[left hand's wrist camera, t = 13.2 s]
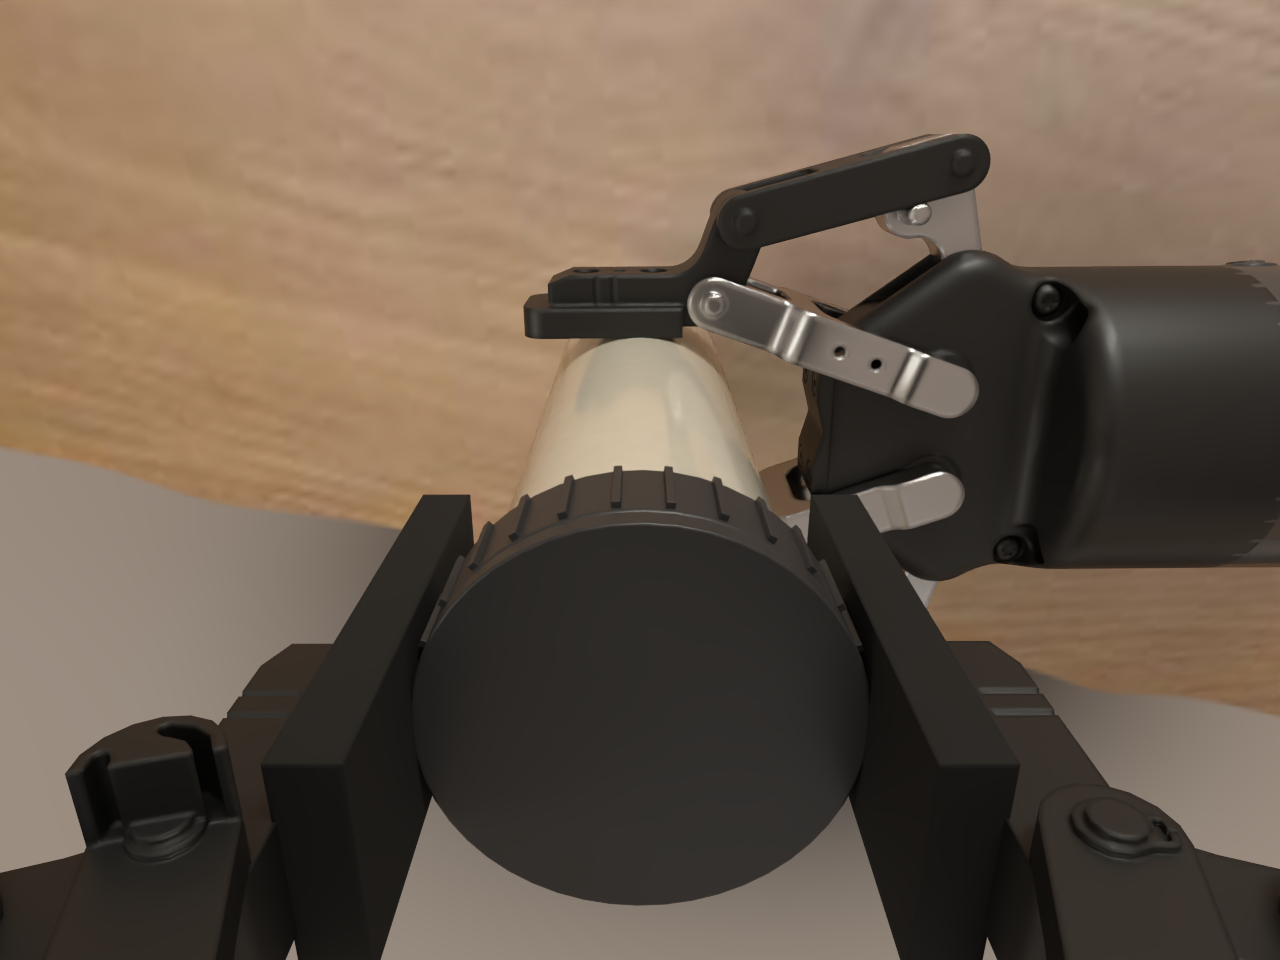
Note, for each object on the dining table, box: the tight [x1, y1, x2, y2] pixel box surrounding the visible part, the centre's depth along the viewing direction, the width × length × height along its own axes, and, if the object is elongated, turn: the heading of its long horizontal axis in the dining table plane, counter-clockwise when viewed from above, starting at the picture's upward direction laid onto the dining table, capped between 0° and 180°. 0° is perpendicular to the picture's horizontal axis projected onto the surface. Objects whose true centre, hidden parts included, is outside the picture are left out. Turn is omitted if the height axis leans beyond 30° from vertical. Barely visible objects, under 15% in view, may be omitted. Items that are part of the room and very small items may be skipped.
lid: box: [411, 465, 870, 905], centre depth 11 cm, size 6×6×2 cm
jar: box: [508, 327, 773, 512], centre depth 20 cm, size 5×5×18 cm
